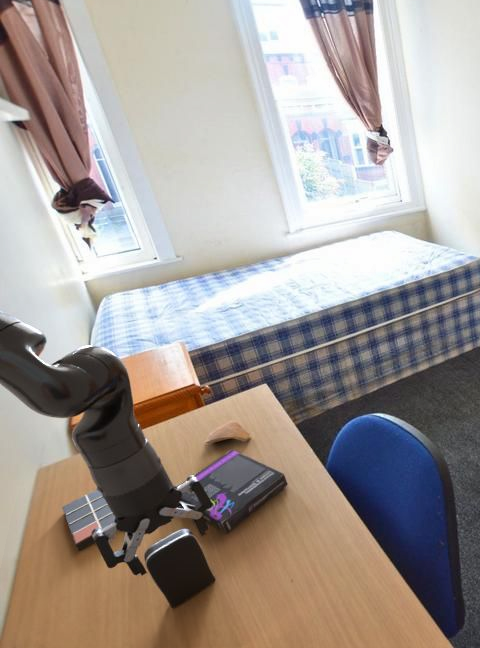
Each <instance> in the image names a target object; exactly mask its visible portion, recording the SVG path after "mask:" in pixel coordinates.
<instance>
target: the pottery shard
mask: <svg viewBox="0 0 480 648" xmlns="http://www.w3.org/2000/svg"><path fill="white" fill-rule="evenodd" d="M229 439H233V440H238V441H241V442H243V443H246V442H247V441H249V440H250V439H252V435H251V433H249V432H248V431H247V430H246V429H244V427H242V425H241V424H240V423H239V421H235V420H230V421H227V422H226V423H224V424H222V425H221V426H219V427H216V428H215V429H214V430H212V431H211V432H210V433H209V434H208V436H207V438H206V439H205V444H207V445H210V444H212V443H217V442H222V441H225V440H229Z"/></svg>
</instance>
